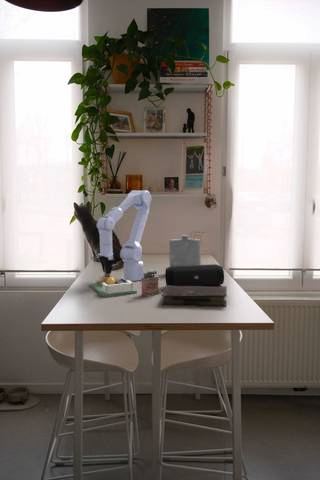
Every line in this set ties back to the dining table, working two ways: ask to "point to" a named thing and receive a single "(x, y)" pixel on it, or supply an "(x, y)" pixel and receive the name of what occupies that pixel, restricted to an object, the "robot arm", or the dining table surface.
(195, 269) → the portable speaker
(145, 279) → the lighter
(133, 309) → the dining table surface
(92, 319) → the dining table surface
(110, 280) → the ball
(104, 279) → the beige block
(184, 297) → the diary
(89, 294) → the dining table surface
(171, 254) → the hip flask
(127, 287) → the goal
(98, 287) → the pitch
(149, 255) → the dining table surface
